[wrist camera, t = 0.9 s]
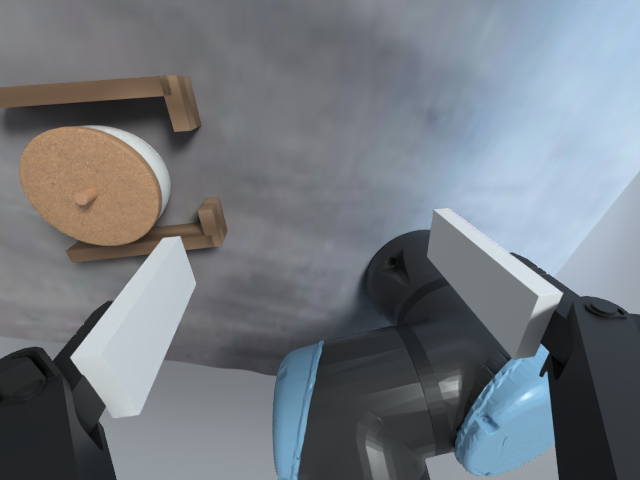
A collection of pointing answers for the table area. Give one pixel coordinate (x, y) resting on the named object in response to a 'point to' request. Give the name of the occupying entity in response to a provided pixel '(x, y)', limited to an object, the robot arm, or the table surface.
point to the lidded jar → (95, 183)
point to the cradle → (182, 119)
